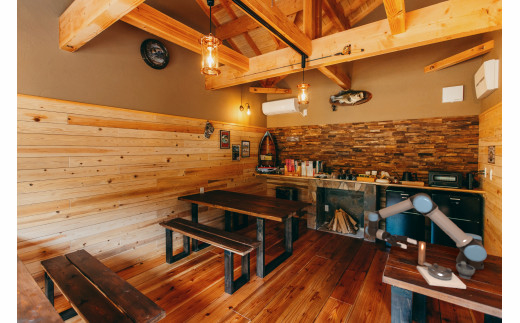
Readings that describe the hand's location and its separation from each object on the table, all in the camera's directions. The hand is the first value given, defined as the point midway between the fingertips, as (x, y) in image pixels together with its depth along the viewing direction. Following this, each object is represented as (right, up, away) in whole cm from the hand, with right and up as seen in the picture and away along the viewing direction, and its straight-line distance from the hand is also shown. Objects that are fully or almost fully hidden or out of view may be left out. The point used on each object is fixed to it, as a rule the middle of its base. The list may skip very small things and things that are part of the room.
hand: (411, 244), depth 171 cm
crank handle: (+8, -15, -11) cm, 21 cm away
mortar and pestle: (+28, -17, -13) cm, 35 cm away
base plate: (+10, -18, -13) cm, 24 cm away
